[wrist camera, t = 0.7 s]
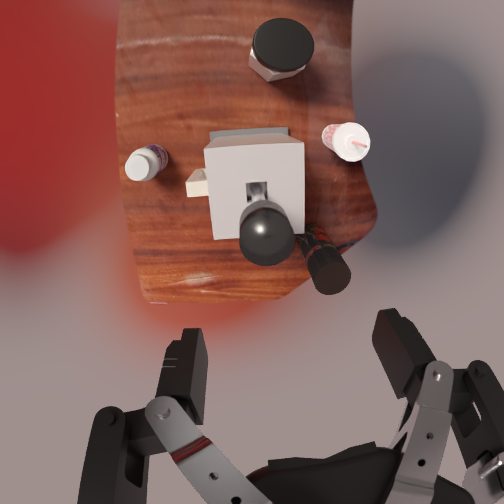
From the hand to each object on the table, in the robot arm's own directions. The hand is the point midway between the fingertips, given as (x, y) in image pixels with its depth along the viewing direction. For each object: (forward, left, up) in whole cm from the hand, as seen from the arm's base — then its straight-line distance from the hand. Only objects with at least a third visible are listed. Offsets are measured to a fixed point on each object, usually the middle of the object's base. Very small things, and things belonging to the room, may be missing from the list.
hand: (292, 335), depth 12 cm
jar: (-19, +5, -41) cm, 46 cm away
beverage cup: (-5, +15, -41) cm, 44 cm away
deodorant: (+15, +11, -41) cm, 45 cm away
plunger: (0, 0, -25) cm, 25 cm away
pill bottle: (-3, -17, -41) cm, 45 cm away
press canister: (0, -1, -41) cm, 41 cm away
